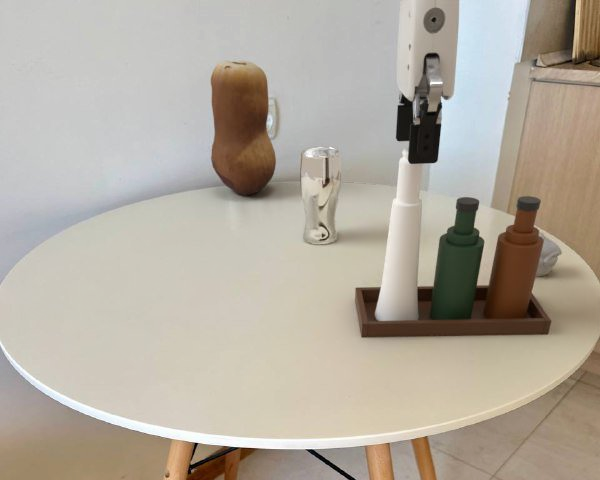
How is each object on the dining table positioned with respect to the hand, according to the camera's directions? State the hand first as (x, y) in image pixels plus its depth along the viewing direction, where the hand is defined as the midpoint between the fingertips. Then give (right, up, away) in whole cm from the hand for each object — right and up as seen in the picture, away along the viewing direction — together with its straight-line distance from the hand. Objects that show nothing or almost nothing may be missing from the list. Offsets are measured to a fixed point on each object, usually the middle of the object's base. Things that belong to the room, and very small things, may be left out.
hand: (415, 151), depth 69 cm
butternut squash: (-25, +16, +60) cm, 67 cm away
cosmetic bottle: (0, -18, +13) cm, 22 cm away
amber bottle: (+15, -17, +13) cm, 26 cm away
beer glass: (-10, 0, +38) cm, 40 cm away
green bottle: (+7, -17, +13) cm, 23 cm away
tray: (+7, -18, +14) cm, 24 cm away
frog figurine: (+23, -10, +25) cm, 35 cm away
